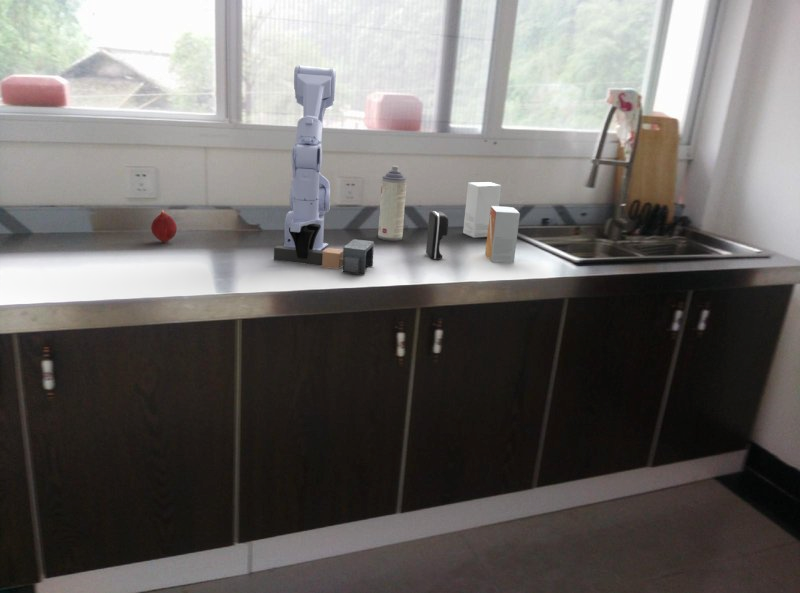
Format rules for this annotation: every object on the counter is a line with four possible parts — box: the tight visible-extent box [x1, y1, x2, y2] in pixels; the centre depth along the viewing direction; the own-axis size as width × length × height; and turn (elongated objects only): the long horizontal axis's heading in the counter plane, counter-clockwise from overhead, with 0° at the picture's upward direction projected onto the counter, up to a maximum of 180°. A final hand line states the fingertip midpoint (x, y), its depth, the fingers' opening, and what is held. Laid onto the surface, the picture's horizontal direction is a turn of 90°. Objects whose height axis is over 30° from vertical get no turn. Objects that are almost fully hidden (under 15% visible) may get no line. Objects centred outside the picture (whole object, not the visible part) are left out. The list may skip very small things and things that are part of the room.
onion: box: [150, 209, 178, 244], centre depth 157 cm, size 6×6×8 cm
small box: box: [484, 205, 521, 264], centre depth 166 cm, size 8×6×13 cm
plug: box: [273, 245, 343, 270], centre depth 150 cm, size 17×4×4 cm, turn 79°
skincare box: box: [462, 181, 502, 238], centre depth 191 cm, size 8×7×16 cm
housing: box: [341, 238, 375, 276], centre depth 146 cm, size 5×11×6 cm, turn 169°
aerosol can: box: [377, 165, 407, 242], centre depth 178 cm, size 7×7×20 cm
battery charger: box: [425, 210, 449, 260], centre depth 163 cm, size 7×4×11 cm, turn 11°
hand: (304, 256), depth 150 cm, fingers closed on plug, 2 cm apart
